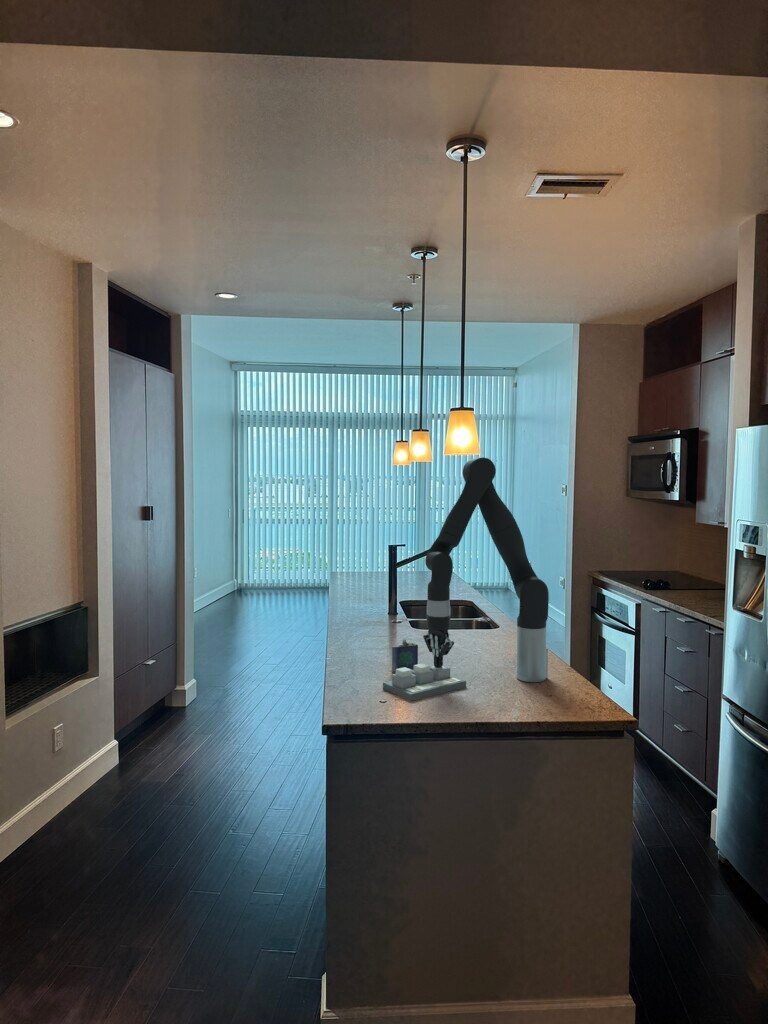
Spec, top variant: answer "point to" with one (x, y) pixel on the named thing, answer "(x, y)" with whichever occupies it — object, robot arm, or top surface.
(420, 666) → the button middle
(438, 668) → the button
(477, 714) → the top surface
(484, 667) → the top surface
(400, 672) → the button
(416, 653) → the flask
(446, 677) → the board
